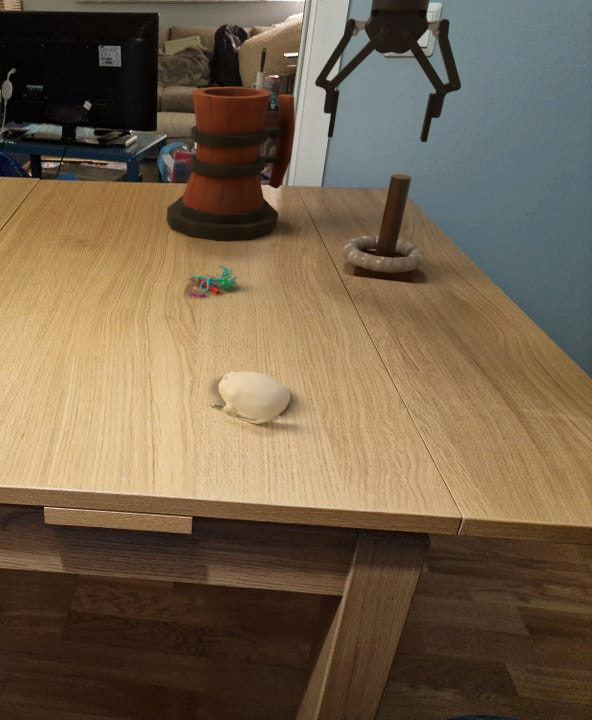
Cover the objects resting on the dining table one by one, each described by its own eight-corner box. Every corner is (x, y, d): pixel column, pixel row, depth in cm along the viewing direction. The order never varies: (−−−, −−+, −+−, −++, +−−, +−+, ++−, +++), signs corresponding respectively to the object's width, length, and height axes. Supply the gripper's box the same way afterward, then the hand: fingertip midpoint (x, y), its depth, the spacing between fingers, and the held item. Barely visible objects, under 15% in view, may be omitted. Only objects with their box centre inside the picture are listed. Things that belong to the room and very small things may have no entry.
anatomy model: (172, 265, 101) (199, 274, 96) (213, 256, 105) (242, 264, 99) (173, 297, 103) (200, 308, 98) (213, 287, 107) (241, 297, 101)
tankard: (149, 212, 139) (153, 87, 127) (254, 201, 146) (267, 81, 134) (195, 246, 121) (204, 104, 109) (312, 231, 128) (332, 96, 116)
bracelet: (419, 251, 115) (423, 238, 113) (425, 279, 104) (428, 264, 103) (342, 243, 118) (344, 230, 117) (340, 269, 108) (342, 255, 106)
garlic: (204, 407, 75) (206, 379, 74) (234, 383, 80) (237, 355, 78) (267, 433, 71) (272, 404, 69) (296, 406, 76) (300, 378, 74)
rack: (408, 262, 114) (430, 171, 106) (411, 282, 107) (434, 186, 99) (354, 256, 117) (371, 167, 109) (353, 275, 109) (371, 181, 102)
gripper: (310, -20, 92) (291, 138, 103) (509, -22, 85) (467, 147, 96) (313, -19, 99) (295, 129, 109) (499, -22, 92) (461, 137, 102)
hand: (375, 138), depth 102 cm, fingers open, 13 cm apart
